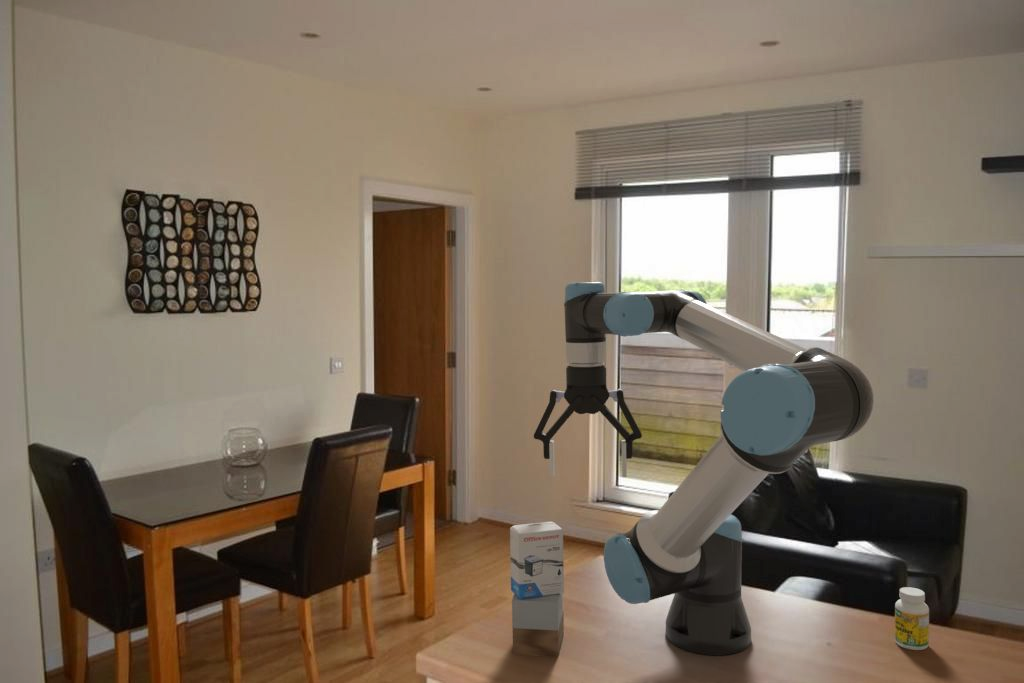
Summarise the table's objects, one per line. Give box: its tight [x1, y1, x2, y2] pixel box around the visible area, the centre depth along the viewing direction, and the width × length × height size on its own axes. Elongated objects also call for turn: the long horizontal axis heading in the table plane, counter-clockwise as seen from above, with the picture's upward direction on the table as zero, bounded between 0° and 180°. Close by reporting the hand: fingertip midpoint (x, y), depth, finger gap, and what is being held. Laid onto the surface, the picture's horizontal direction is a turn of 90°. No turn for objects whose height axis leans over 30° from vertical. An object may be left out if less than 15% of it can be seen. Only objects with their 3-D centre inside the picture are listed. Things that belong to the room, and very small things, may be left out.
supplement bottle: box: [894, 586, 930, 651], centre depth 141 cm, size 5×5×10 cm
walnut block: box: [512, 611, 565, 658], centre depth 143 cm, size 8×8×5 cm
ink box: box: [509, 521, 565, 599], centre depth 142 cm, size 9×5×12 cm, turn 108°
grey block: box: [511, 593, 564, 630], centre depth 142 cm, size 8×8×5 cm
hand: (588, 475), depth 152 cm, fingers open, 13 cm apart
